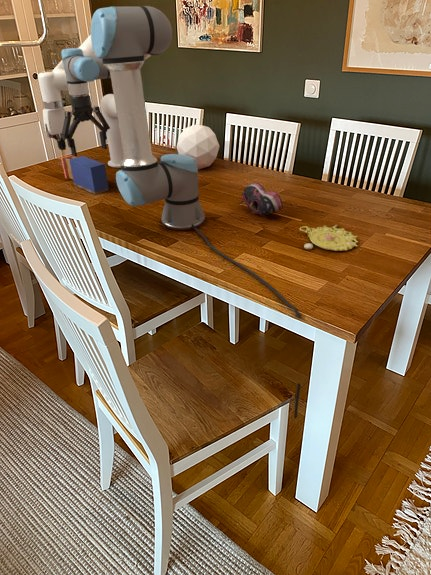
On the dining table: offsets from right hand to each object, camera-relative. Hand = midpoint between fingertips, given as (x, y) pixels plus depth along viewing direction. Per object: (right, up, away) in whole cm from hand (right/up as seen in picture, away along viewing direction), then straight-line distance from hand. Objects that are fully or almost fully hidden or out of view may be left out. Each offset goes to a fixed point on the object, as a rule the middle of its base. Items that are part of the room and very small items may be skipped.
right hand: (89, 152), depth 178 cm
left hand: (-17, +6, +17) cm, 24 cm away
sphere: (+43, +2, +31) cm, 53 cm away
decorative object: (+87, -39, -36) cm, 102 cm away
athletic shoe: (+66, -26, -15) cm, 73 cm away
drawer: (-11, -6, +18) cm, 23 cm away
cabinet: (-3, -12, +11) cm, 16 cm away
